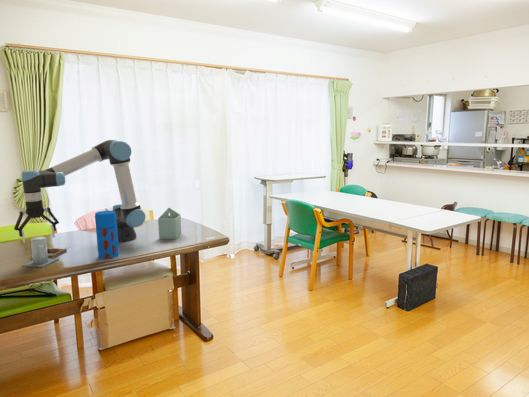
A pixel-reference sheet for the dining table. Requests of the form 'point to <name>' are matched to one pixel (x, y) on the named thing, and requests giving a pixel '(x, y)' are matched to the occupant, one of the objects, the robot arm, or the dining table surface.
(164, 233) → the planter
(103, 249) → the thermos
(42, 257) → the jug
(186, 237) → the dining table surface
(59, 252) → the frame
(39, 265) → the coaster
